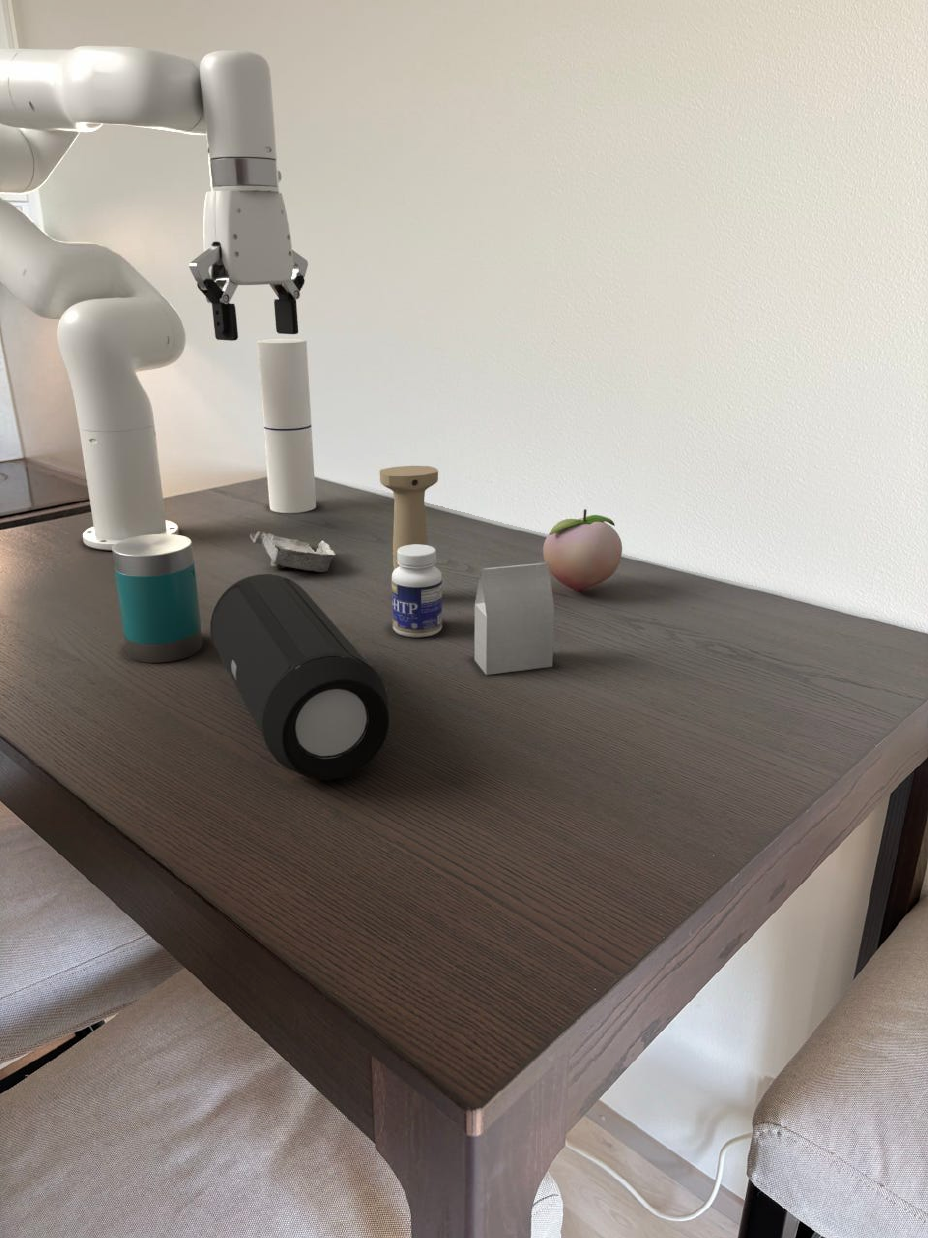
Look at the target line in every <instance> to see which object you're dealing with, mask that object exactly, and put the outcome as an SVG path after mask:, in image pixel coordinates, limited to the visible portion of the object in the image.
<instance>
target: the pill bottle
mask: <svg viewBox="0 0 928 1238" xmlns="http://www.w3.org/2000/svg"><path fill="white" fill-rule="evenodd" d="M397 560H398V564H399V565H400V566H399V567H398V568H396V569H395V570H394V569H393V571H392V574H391V606H392V607H391V608H392V610H391V611H392V629H393V631H395V633H396V634H398V635H400V636H402V637H407V638H427V637H431V636H434V635H436V634H438V633H440V632H441V630H442V628H443V574H442V572H441V570H440V569H439V568H438V567H436V566H435V564H436V563H437V551H436V548H435V547H434V546H432V545H429V544H427V545H421V544H413V545H406V546H402V547H400V548H399V549H398V551H397Z"/></svg>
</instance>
